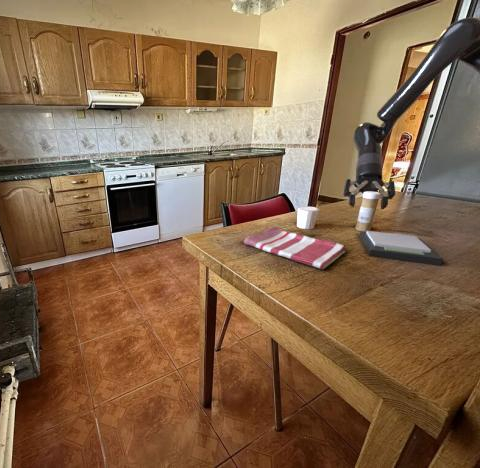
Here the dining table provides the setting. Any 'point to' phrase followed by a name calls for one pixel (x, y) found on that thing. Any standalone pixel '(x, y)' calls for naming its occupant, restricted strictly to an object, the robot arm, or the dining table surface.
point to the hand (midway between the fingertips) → (367, 207)
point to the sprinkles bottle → (367, 211)
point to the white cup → (307, 217)
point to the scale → (399, 247)
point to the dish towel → (297, 247)
